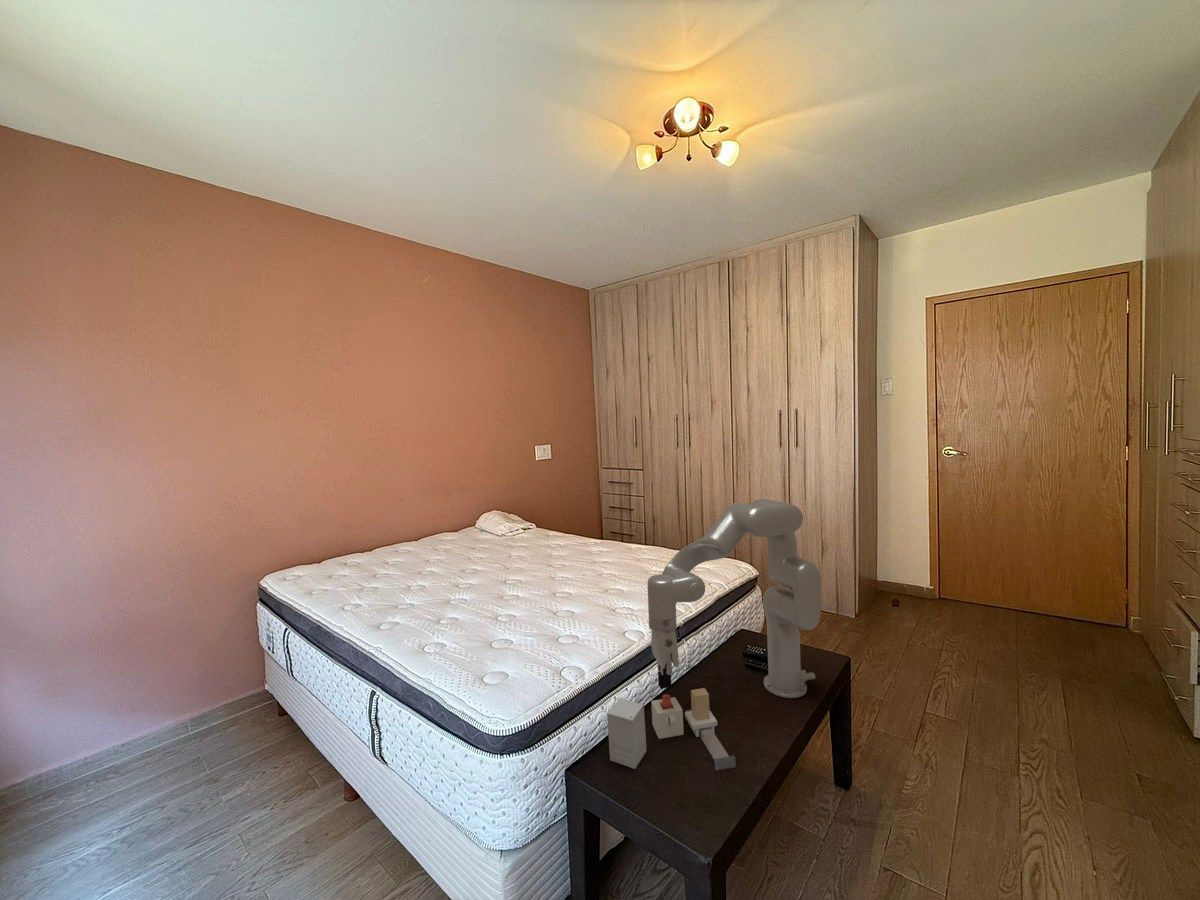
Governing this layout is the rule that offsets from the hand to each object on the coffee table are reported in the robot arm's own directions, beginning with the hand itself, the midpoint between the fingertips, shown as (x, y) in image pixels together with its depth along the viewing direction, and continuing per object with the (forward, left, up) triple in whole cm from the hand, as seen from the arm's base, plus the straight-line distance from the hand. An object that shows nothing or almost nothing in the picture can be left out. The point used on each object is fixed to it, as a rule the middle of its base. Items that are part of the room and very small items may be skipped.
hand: (664, 686), depth 126 cm
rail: (-9, +7, -13) cm, 17 cm away
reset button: (0, 0, -8) cm, 8 cm away
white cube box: (0, 0, -13) cm, 13 cm away
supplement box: (+13, +7, -13) cm, 19 cm away
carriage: (-9, +2, -12) cm, 16 cm away
